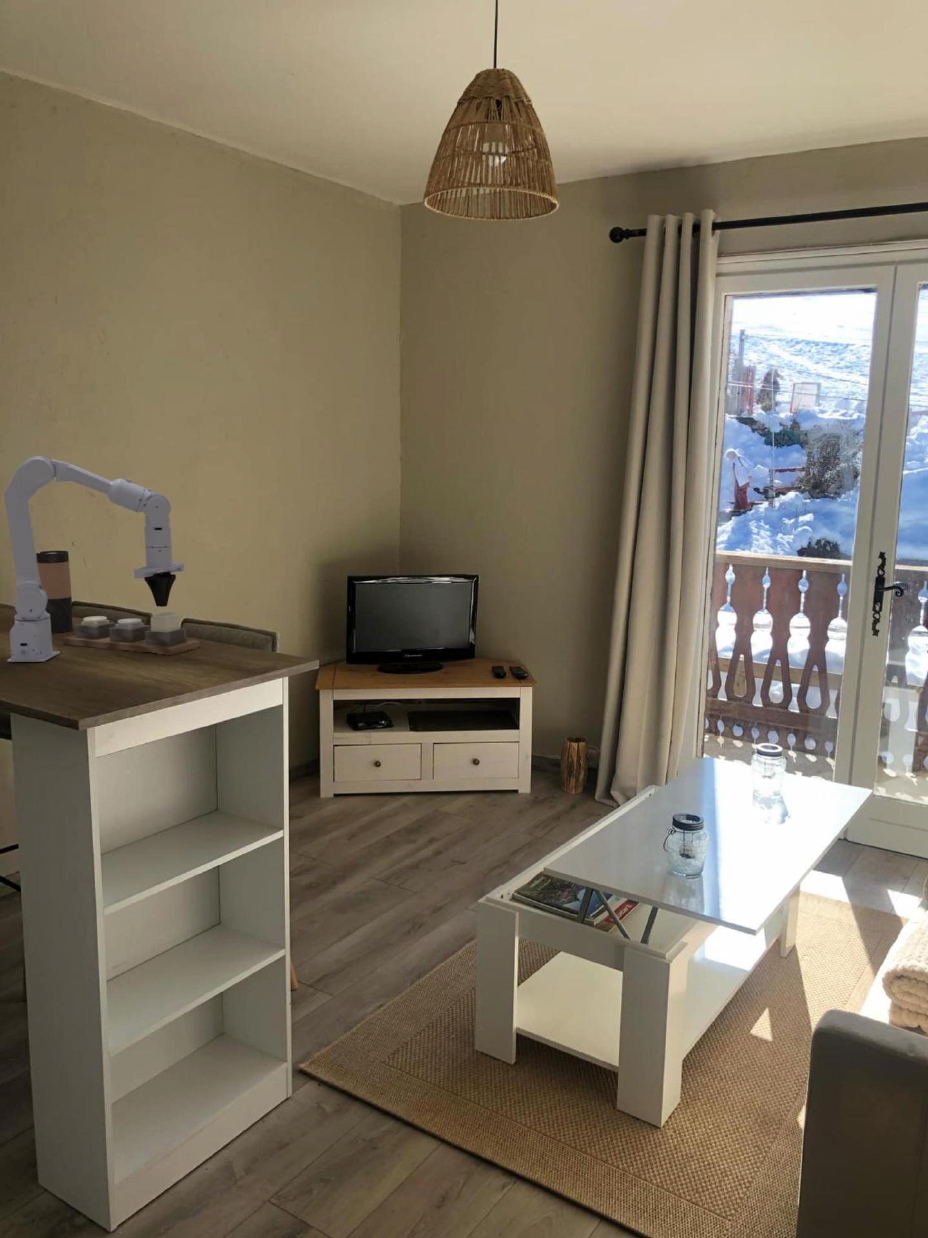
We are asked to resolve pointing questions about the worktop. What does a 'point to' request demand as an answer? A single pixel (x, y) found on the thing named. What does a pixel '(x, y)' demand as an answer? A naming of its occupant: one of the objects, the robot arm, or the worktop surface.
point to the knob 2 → (129, 623)
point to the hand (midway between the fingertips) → (161, 606)
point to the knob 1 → (95, 621)
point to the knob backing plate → (131, 639)
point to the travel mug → (56, 588)
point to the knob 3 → (165, 622)
